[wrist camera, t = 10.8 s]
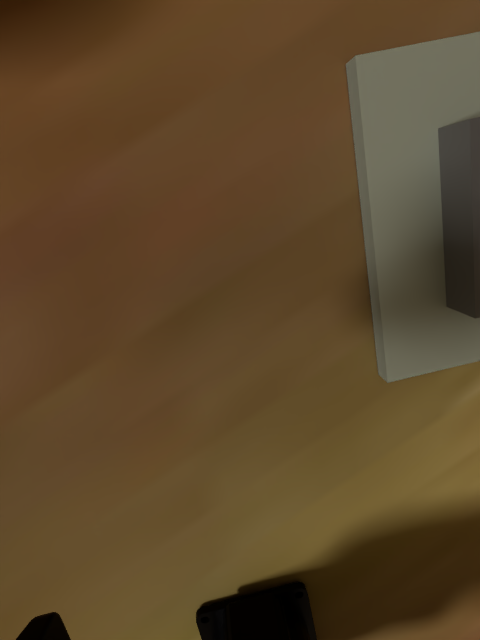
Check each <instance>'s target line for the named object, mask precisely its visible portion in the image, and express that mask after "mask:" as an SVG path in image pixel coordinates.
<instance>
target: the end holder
mask: <svg viewBox="0 0 480 640" xmlns="http://www.w3.org/2000/svg"><path fill="white" fill-rule="evenodd" d="M346 71H347V80H348V90H349V99H350V109H351V118H352V128H353V137H354V147H355V156H356V166H357V175H358V185H359V194H360V204H361V213H362V223H363V232H364V242H365V251H366V261H367V270H368V280H369V289H370V299H371V308H372V318H373V327H374V337H375V346H376V355H377V365H378V374H379V375H380V376H381V377H382V378H383V379H384V380H385V381H386V382H387V383H389V382H393V381H397V380H401V379H405V378H409V377H414V376H418V375H422V374H426V373H430V372H435V371H439V370H443V369H447V368H451V367H455V366H460V365H464V364H468V363H472V362H476V361H480V32H476V33H471V34H465V35H460V36H455V37H450V38H445V39H440V40H434V41H429V42H424V43H419V44H414V45H408V46H403V47H398V48H393V49H388V50H382V51H377V52H372V53H367V54H362V55H356V56H354V57H353V58H352V59H351V60H350V61H349V62H348V63H347V64H346Z"/></svg>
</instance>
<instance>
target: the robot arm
mask: <svg viewBox="0 0 480 640" xmlns="http://www.w3.org/2000/svg"><path fill="white" fill-rule="evenodd" d="M196 623H197V626H198V629H199V632H200V635H201V639H202V640H317V638H316V633H315V628H314V623H313V618H312V613H311V608H310V603H309V598H308V593H307V590H306V586H305V584H303V583H301V582H295V583H292V584H288V585H284V586H280V587H276V588H273V589H269V590H265V591H261V592H258V593H254V594H250V595H246V596H242V597H239V598H235V599H231V600H227V601H223V602H220V603H216V604H212V605H208V606H205V607H202V608H200V609H198V610H197V612H196ZM16 640H71V639H70V637H69V635H68V632H67V630H66V628H65V626H64V623H63V621H62V619H61V617H60V615H59V614H58V613H56V612H52V613H48V614H44V615H40V616H37V617H35V618H33V619H32V620H31V621H30V622H29V623H28V625H27V626H26V627H25V629H24V630H23V631H22V632H21V634H20V635H19V636H18V637H17V639H16Z"/></svg>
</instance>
